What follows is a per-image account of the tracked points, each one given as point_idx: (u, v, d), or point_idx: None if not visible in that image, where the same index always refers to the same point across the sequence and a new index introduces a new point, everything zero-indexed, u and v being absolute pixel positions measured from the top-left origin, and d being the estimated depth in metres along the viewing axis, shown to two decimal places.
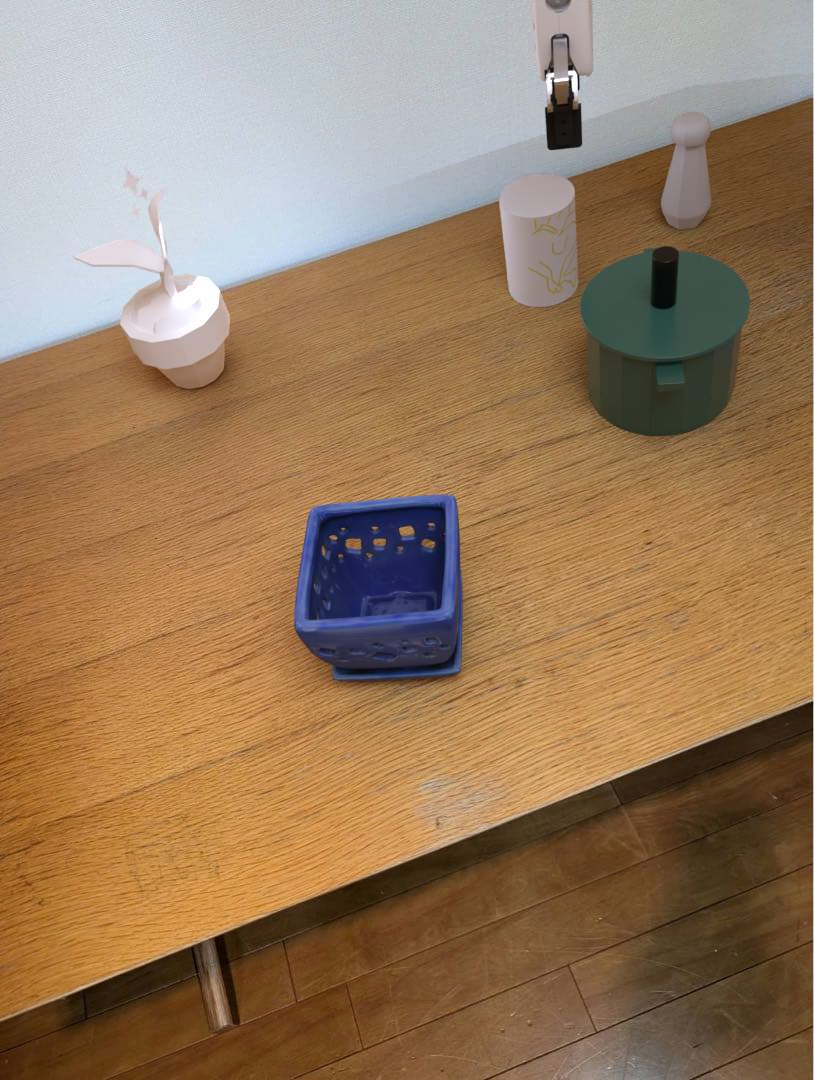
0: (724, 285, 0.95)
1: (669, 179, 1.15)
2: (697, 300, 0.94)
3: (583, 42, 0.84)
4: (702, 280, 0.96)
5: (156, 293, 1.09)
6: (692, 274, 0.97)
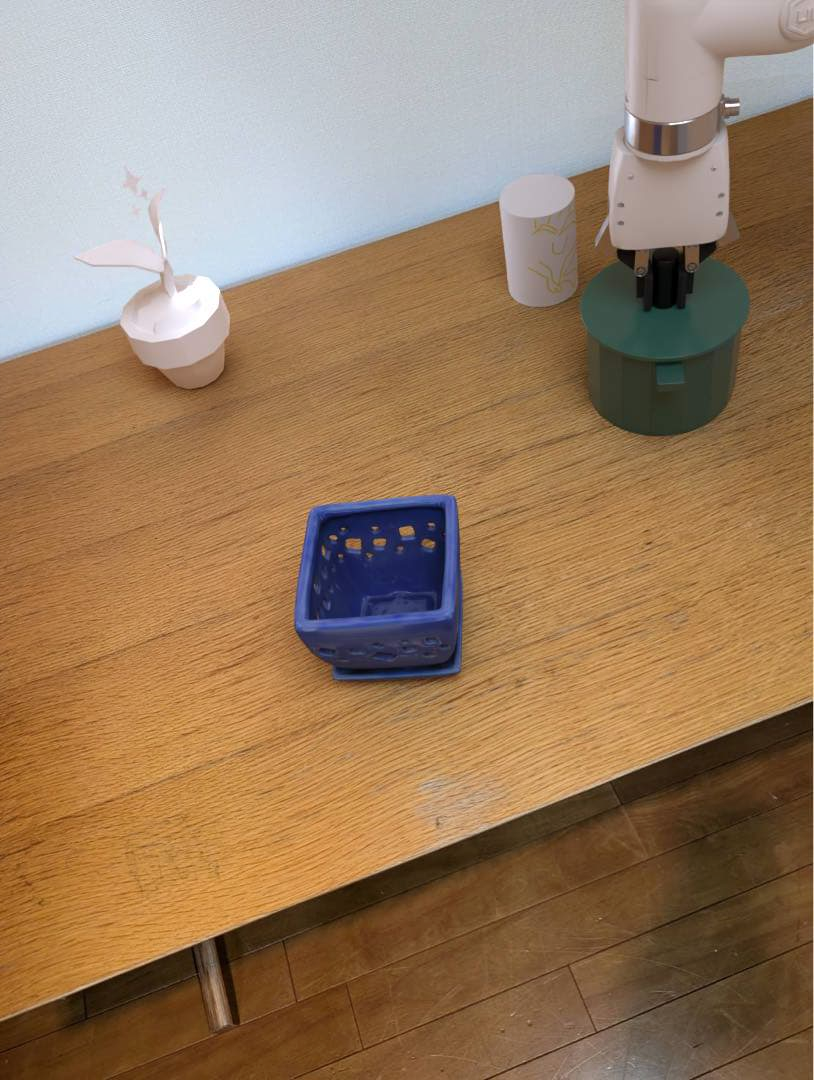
0: (724, 285, 0.95)
1: None
2: (697, 300, 0.94)
3: None
4: (702, 280, 0.96)
5: (156, 293, 1.09)
6: None
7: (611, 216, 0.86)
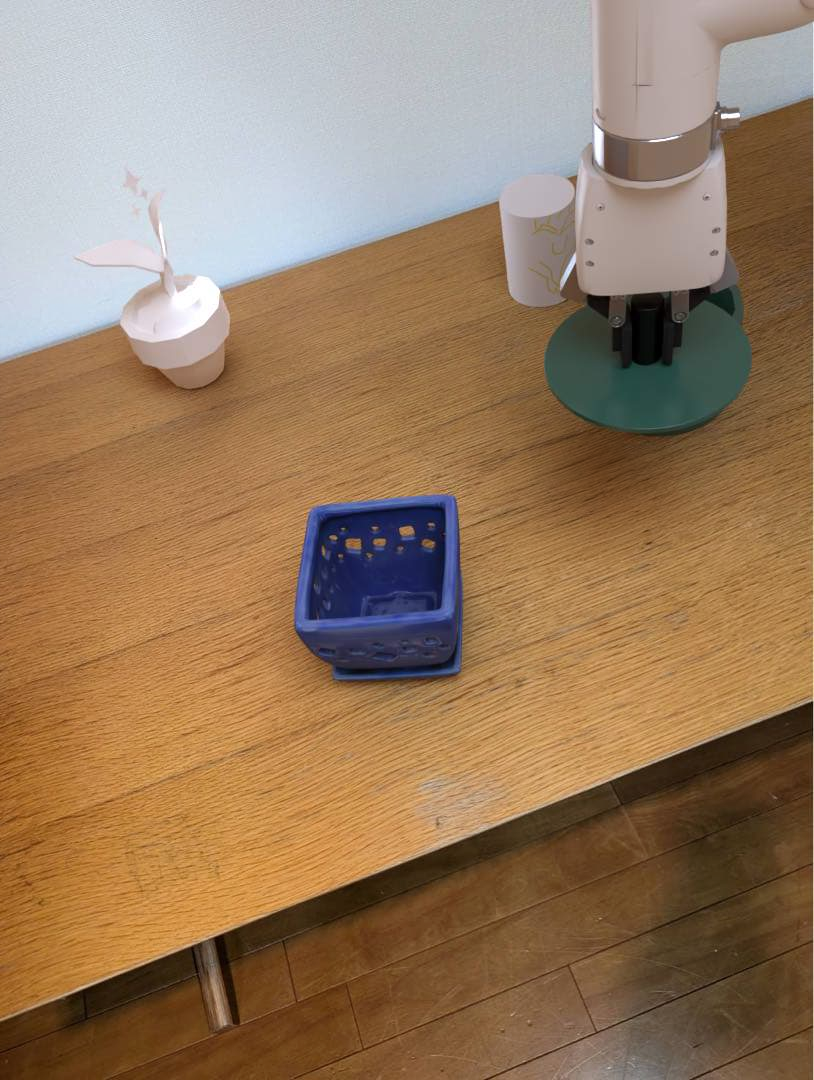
0: (720, 336, 0.77)
1: None
2: (687, 354, 0.77)
3: None
4: (693, 329, 0.78)
5: (156, 293, 1.09)
6: None
7: (578, 255, 0.68)
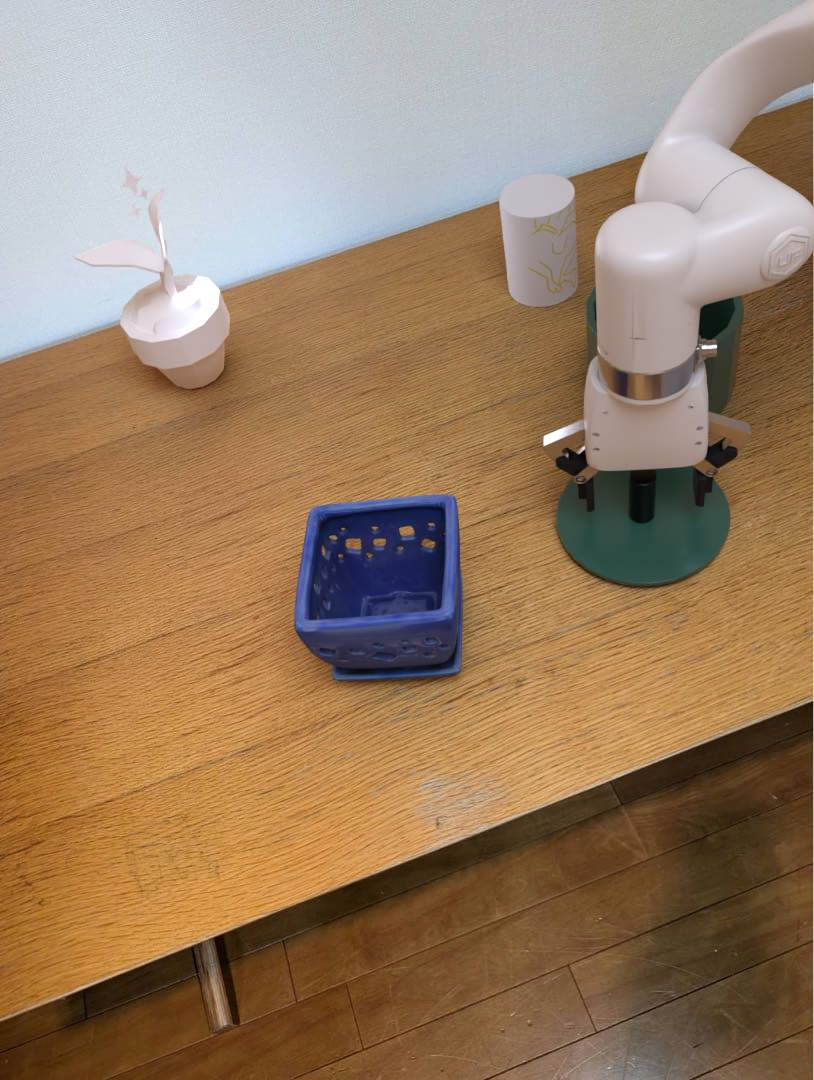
0: None
1: None
2: (676, 514, 0.92)
3: None
4: (682, 490, 0.93)
5: (156, 293, 1.09)
6: (671, 482, 0.94)
7: (586, 442, 0.83)
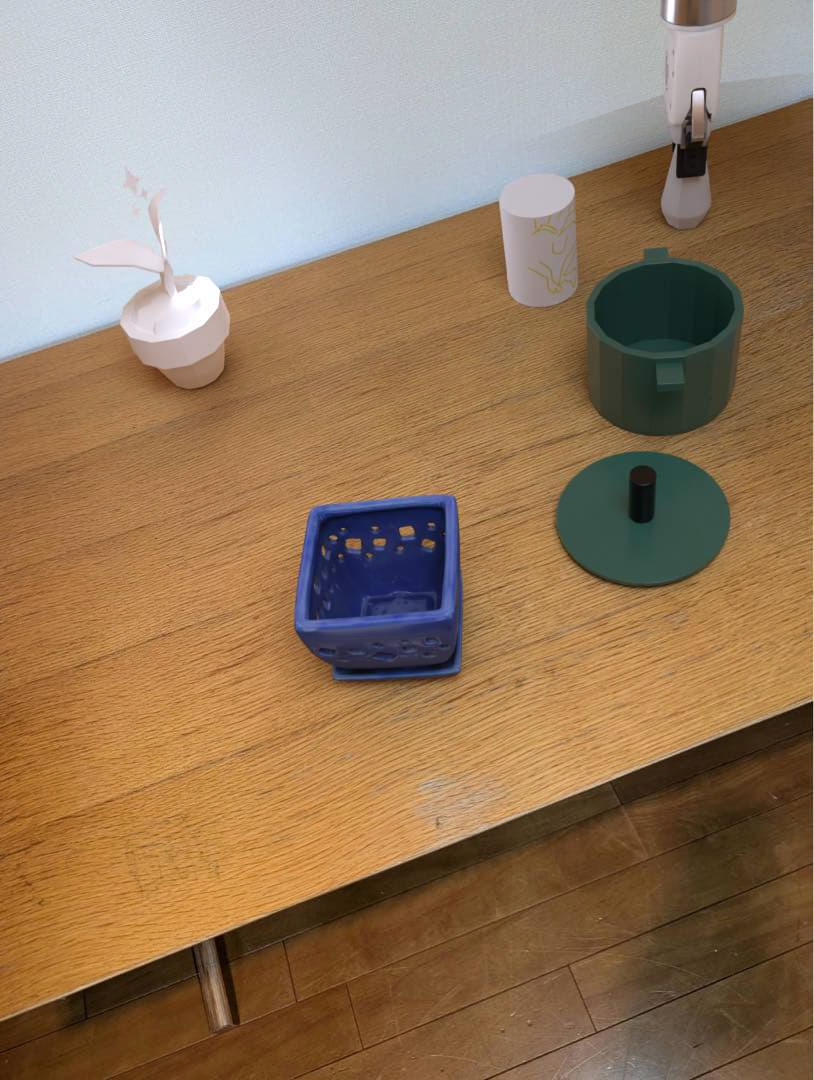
0: (704, 497, 0.92)
1: (669, 179, 1.15)
2: (676, 514, 0.92)
3: None
4: (682, 490, 0.93)
5: (156, 293, 1.09)
6: (671, 482, 0.94)
7: (714, 93, 1.02)
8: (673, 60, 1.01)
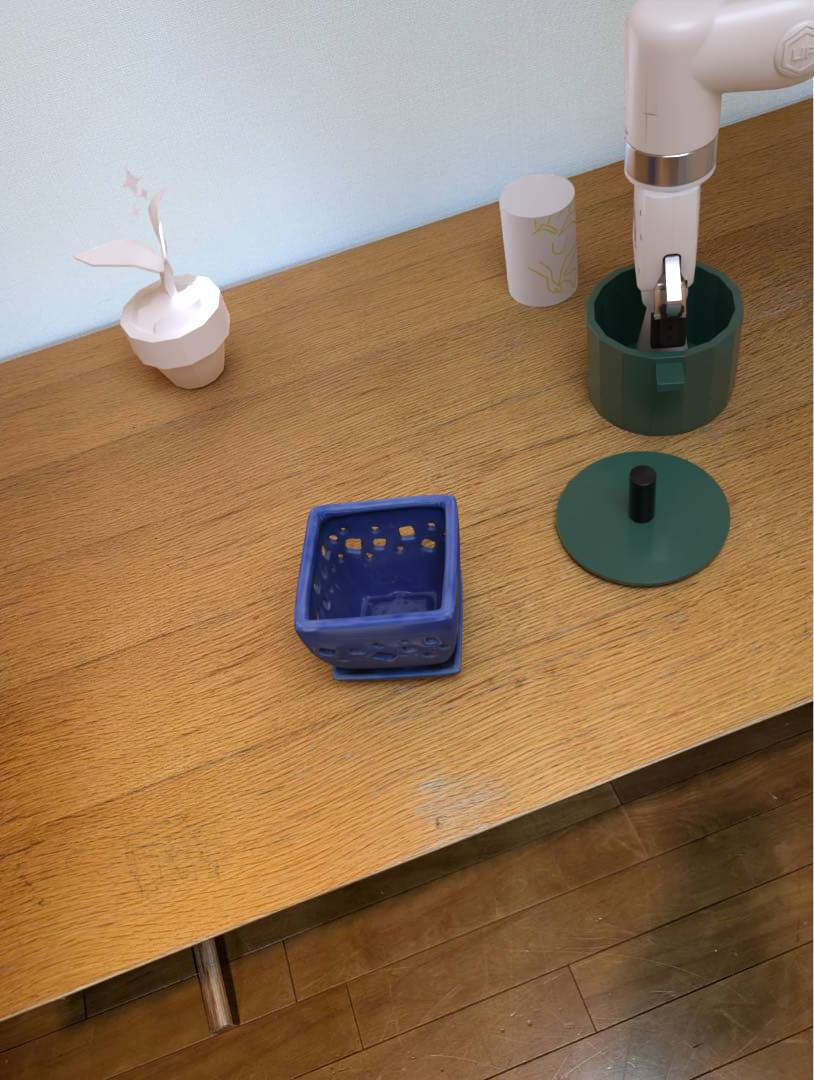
0: (704, 497, 0.92)
1: (640, 342, 0.98)
2: (676, 514, 0.92)
3: None
4: (682, 490, 0.93)
5: (156, 293, 1.09)
6: (671, 482, 0.94)
7: (691, 259, 0.85)
8: (641, 222, 0.84)
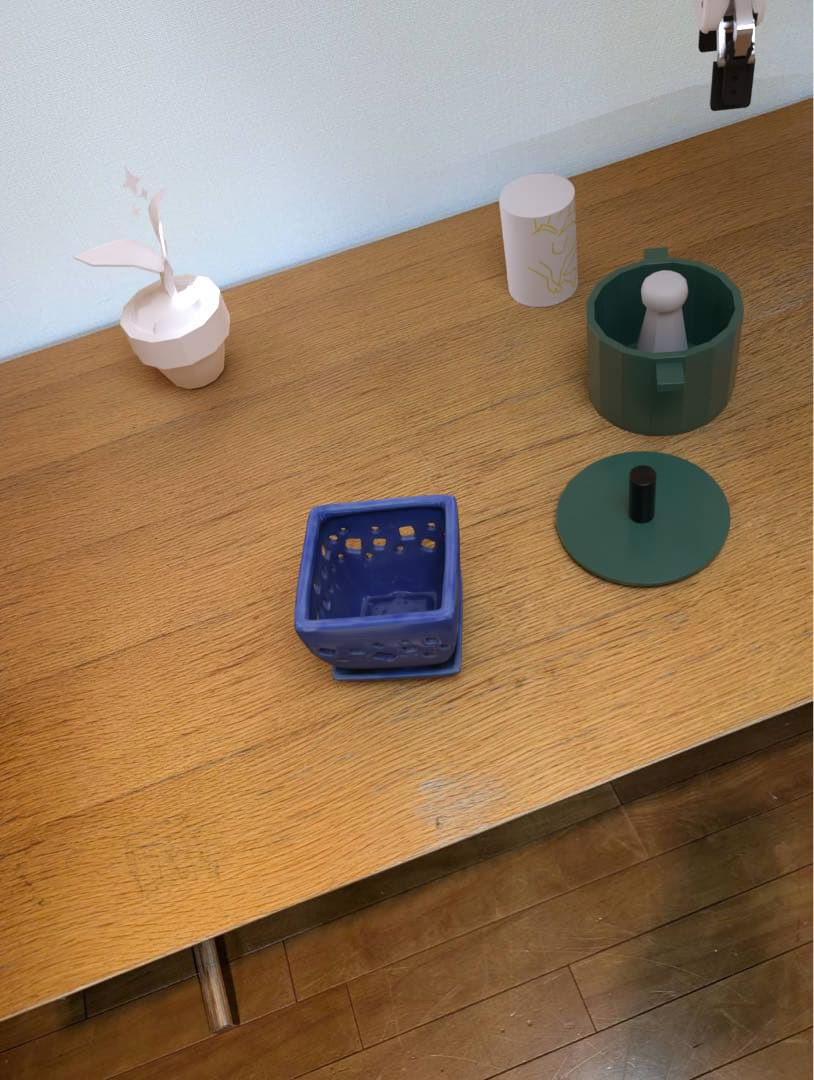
0: (704, 497, 0.92)
1: (640, 342, 0.98)
2: (676, 514, 0.92)
3: None
4: (682, 490, 0.93)
5: (156, 293, 1.09)
6: (671, 482, 0.94)
7: None
8: None
